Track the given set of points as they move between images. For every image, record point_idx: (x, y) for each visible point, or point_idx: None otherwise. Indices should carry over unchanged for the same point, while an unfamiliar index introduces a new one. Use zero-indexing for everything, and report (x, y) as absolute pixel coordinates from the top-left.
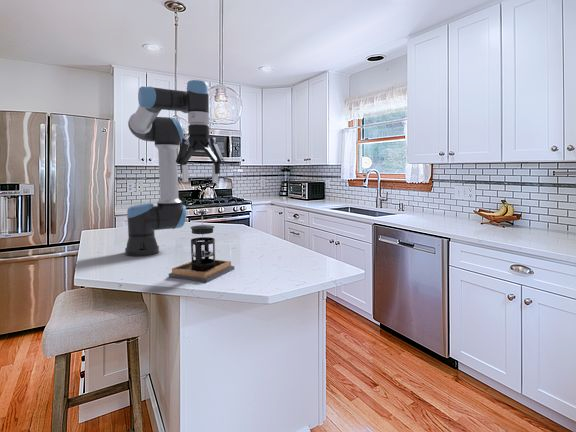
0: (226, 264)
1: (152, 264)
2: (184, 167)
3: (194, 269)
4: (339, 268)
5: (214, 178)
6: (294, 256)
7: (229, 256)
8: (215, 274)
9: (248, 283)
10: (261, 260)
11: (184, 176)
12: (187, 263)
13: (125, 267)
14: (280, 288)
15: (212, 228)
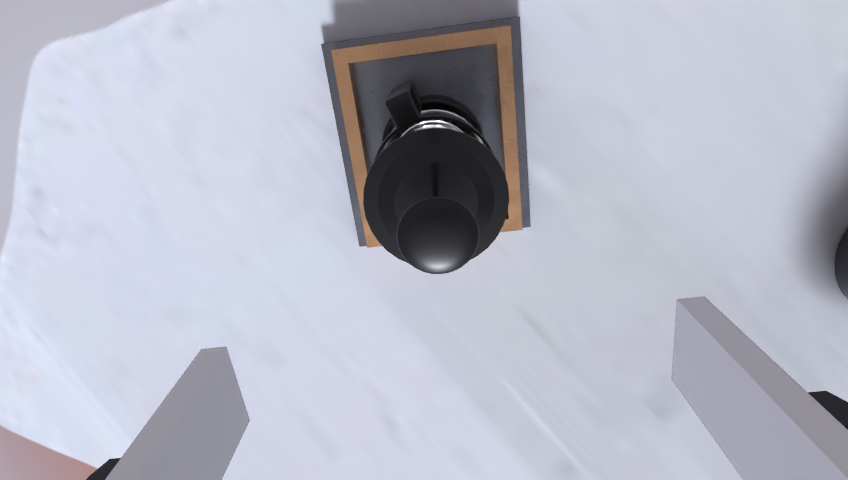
0: (361, 211)
1: (723, 125)
2: (818, 477)
3: (438, 98)
4: (62, 416)
5: (177, 391)
6: (285, 472)
7: (500, 371)
8: (340, 116)
9: (186, 121)
10: (352, 380)
11: (717, 357)
12: (508, 129)
13: (812, 22)
14: (55, 132)
15: (376, 221)
